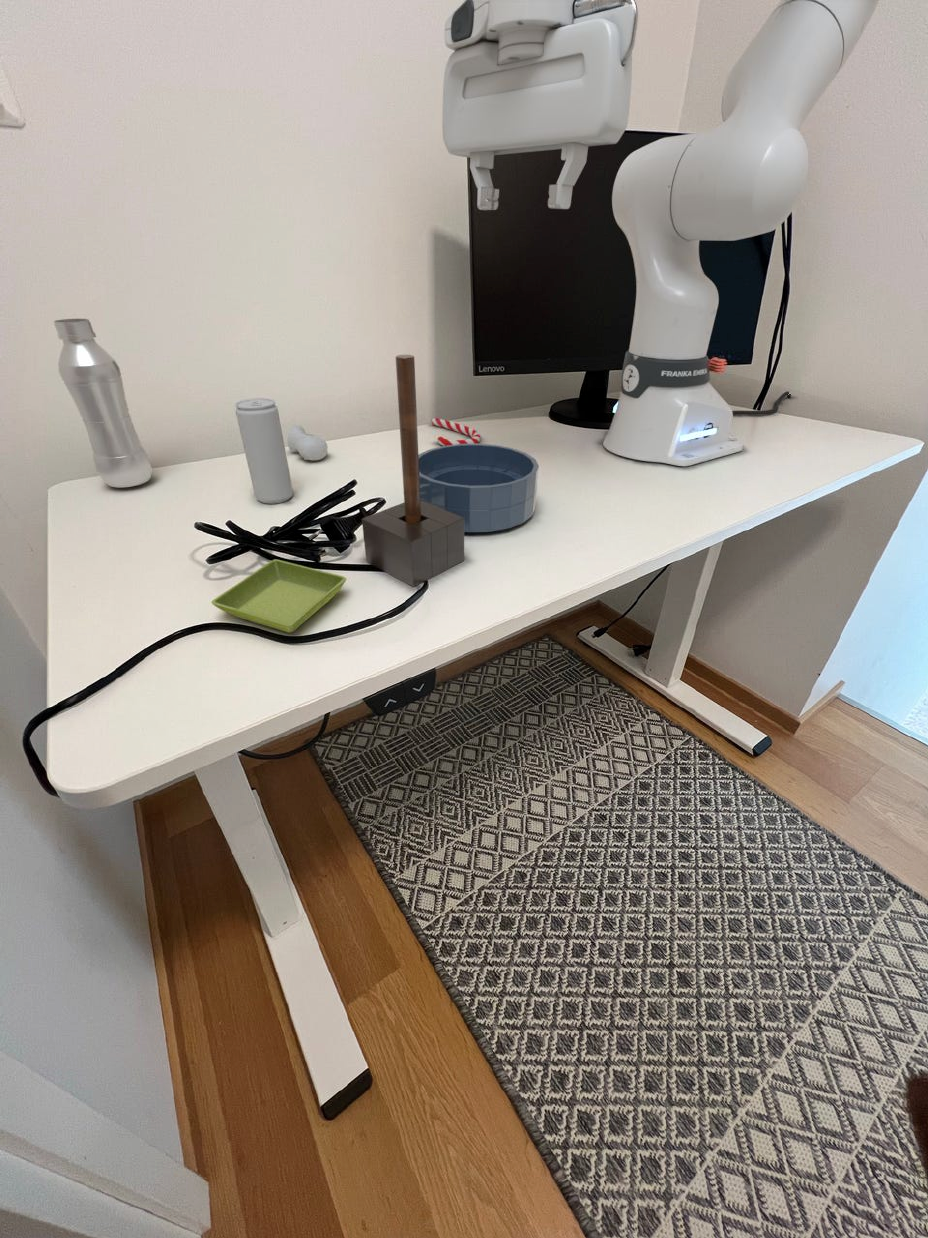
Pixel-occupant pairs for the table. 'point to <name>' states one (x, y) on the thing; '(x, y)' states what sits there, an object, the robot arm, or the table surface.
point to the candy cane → (458, 428)
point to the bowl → (480, 484)
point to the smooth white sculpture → (306, 444)
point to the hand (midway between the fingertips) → (521, 209)
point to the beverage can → (264, 449)
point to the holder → (414, 542)
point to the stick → (409, 436)
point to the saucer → (280, 595)
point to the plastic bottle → (101, 405)
